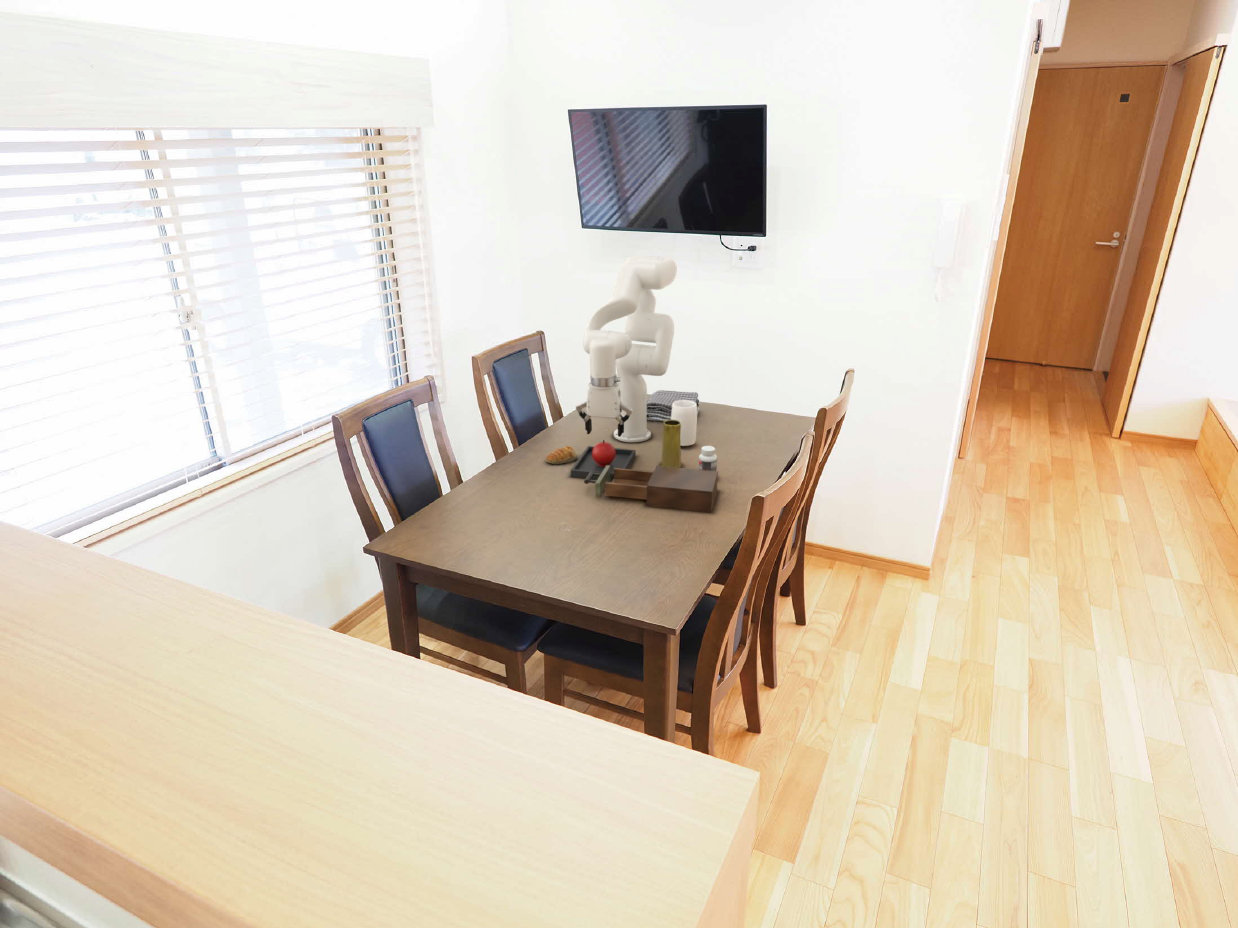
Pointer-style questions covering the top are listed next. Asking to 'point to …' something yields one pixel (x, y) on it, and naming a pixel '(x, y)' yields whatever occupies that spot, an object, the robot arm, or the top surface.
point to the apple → (603, 453)
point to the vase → (671, 444)
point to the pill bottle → (707, 459)
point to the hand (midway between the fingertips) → (604, 433)
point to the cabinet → (682, 489)
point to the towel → (667, 403)
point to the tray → (588, 464)
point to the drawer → (621, 483)
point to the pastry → (562, 455)
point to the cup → (686, 420)
